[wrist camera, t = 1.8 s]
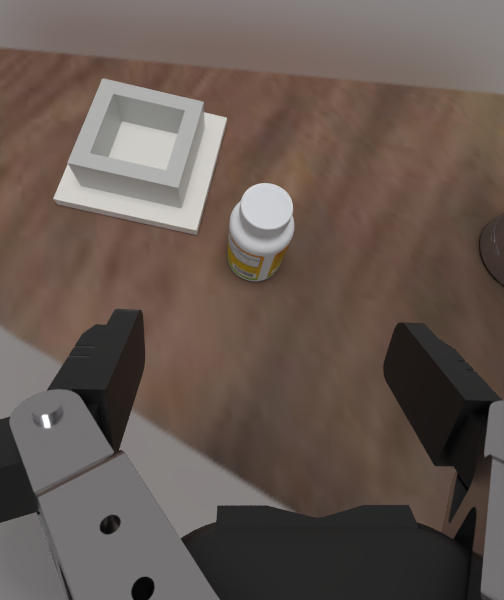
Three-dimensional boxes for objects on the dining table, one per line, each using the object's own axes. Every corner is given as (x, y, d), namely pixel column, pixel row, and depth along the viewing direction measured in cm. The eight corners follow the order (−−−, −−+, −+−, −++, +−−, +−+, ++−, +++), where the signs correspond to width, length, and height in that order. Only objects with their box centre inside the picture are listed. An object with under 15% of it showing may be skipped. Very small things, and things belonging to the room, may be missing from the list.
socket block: (226, 124, 41) (228, 91, 37) (197, 235, 37) (194, 211, 33) (102, 95, 41) (88, 58, 36) (57, 204, 36) (36, 176, 32)
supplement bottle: (272, 228, 38) (291, 169, 29) (286, 276, 37) (311, 230, 27) (221, 237, 37) (223, 180, 28) (233, 287, 36) (240, 243, 26)
